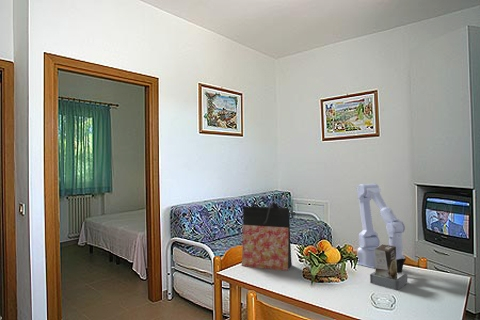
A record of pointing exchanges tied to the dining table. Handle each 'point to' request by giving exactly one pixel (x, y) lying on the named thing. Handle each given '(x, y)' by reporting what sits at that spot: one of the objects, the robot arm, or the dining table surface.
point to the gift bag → (266, 237)
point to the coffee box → (386, 261)
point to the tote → (388, 281)
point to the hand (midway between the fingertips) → (396, 274)
